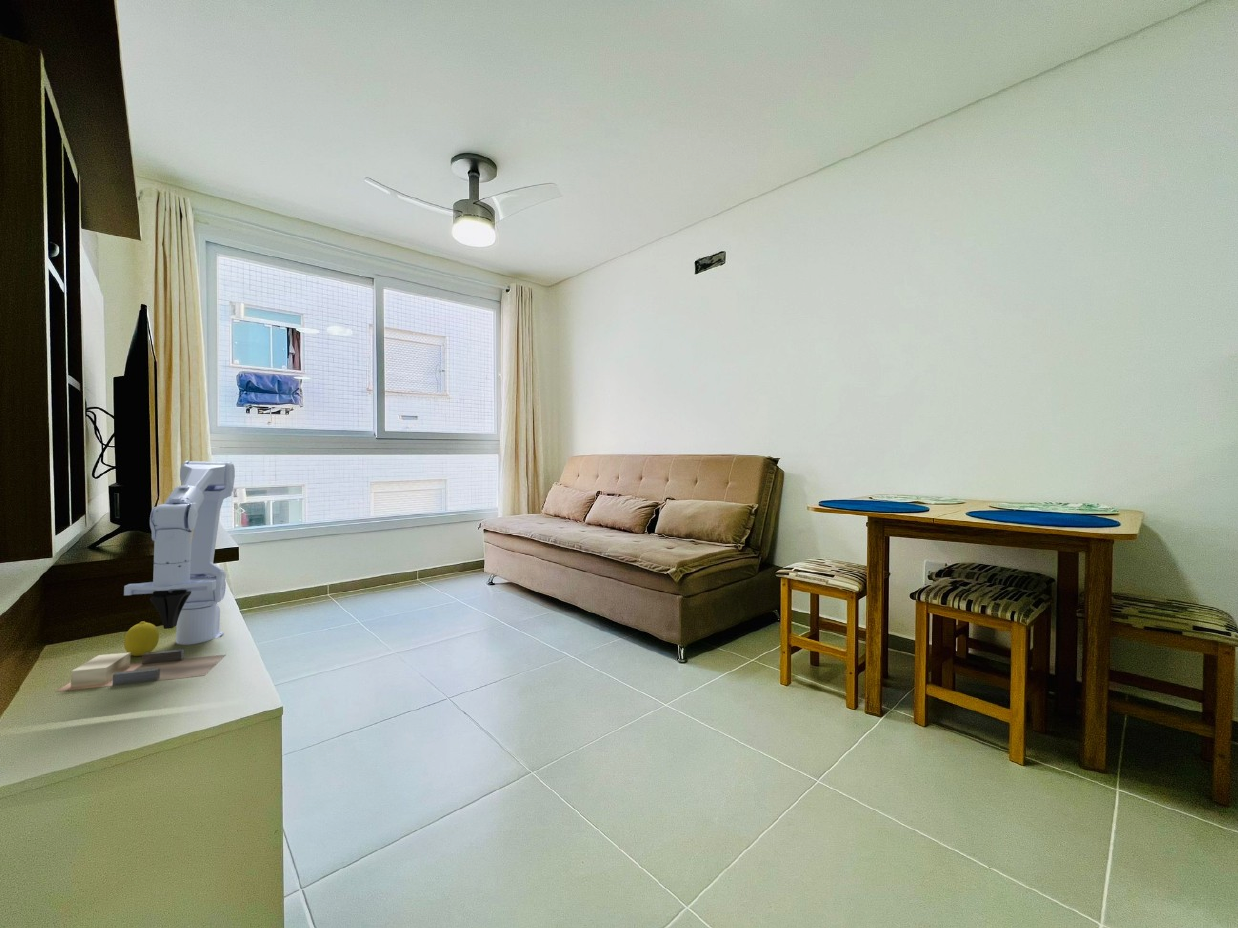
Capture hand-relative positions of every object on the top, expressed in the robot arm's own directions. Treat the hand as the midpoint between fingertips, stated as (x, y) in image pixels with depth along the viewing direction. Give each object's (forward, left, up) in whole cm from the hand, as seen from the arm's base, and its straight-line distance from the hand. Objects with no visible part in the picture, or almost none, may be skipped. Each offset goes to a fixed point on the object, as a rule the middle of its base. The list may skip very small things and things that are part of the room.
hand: (170, 627), depth 103 cm
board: (+2, -2, -9) cm, 9 cm away
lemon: (-10, -8, -9) cm, 16 cm away
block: (+2, -9, -8) cm, 13 cm away
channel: (+2, -2, -9) cm, 9 cm away
